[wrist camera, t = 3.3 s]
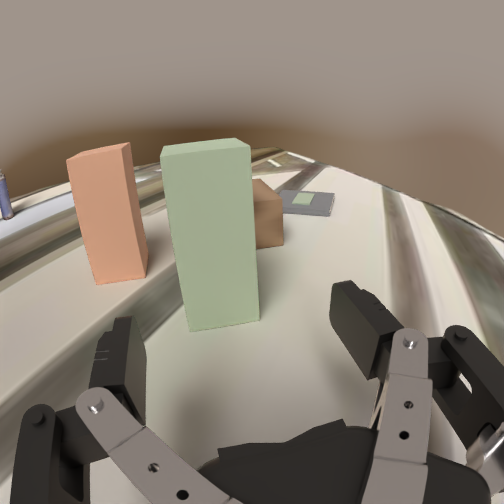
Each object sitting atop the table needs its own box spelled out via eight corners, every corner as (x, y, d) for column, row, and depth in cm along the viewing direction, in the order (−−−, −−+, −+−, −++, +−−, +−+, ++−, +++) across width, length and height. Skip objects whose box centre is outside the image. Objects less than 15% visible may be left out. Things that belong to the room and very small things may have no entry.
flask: (14, 217, 53) (3, 168, 48) (3, 222, 51) (-9, 173, 46) (12, 210, 59) (3, 166, 54) (2, 214, 57) (-8, 170, 52)
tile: (269, 211, 43) (268, 204, 42) (282, 195, 49) (282, 188, 49) (329, 216, 40) (329, 208, 40) (334, 198, 47) (334, 191, 46)
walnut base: (196, 257, 32) (189, 210, 30) (191, 225, 40) (186, 187, 37) (283, 245, 33) (282, 198, 31) (261, 216, 41) (259, 178, 39)
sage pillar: (190, 332, 22) (159, 156, 16) (186, 293, 26) (163, 146, 21) (259, 320, 23) (250, 146, 17) (245, 284, 27) (234, 137, 22)
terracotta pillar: (96, 284, 28) (66, 160, 23) (105, 261, 32) (82, 151, 27) (145, 277, 29) (121, 148, 23) (148, 254, 33) (129, 142, 28)
